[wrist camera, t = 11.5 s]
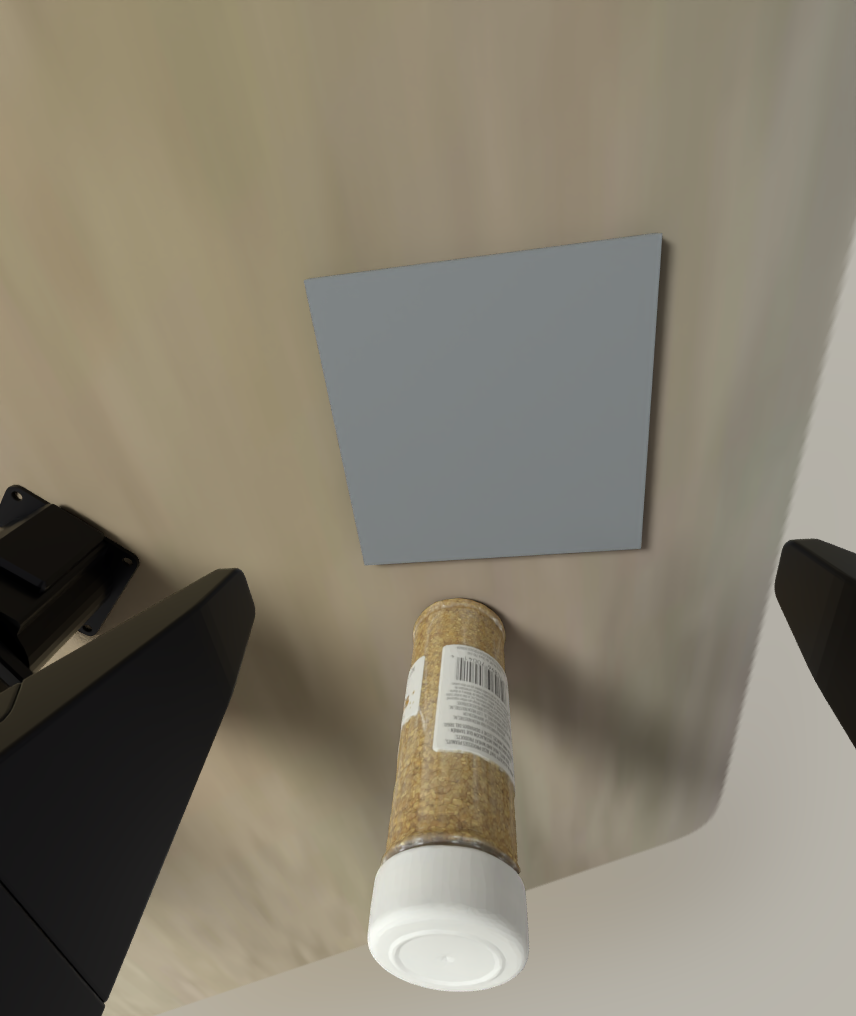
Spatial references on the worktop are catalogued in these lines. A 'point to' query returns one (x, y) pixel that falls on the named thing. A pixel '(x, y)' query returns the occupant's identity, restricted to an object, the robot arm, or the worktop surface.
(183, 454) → the worktop surface
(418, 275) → the rest mat
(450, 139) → the worktop surface
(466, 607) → the sprinkles bottle
